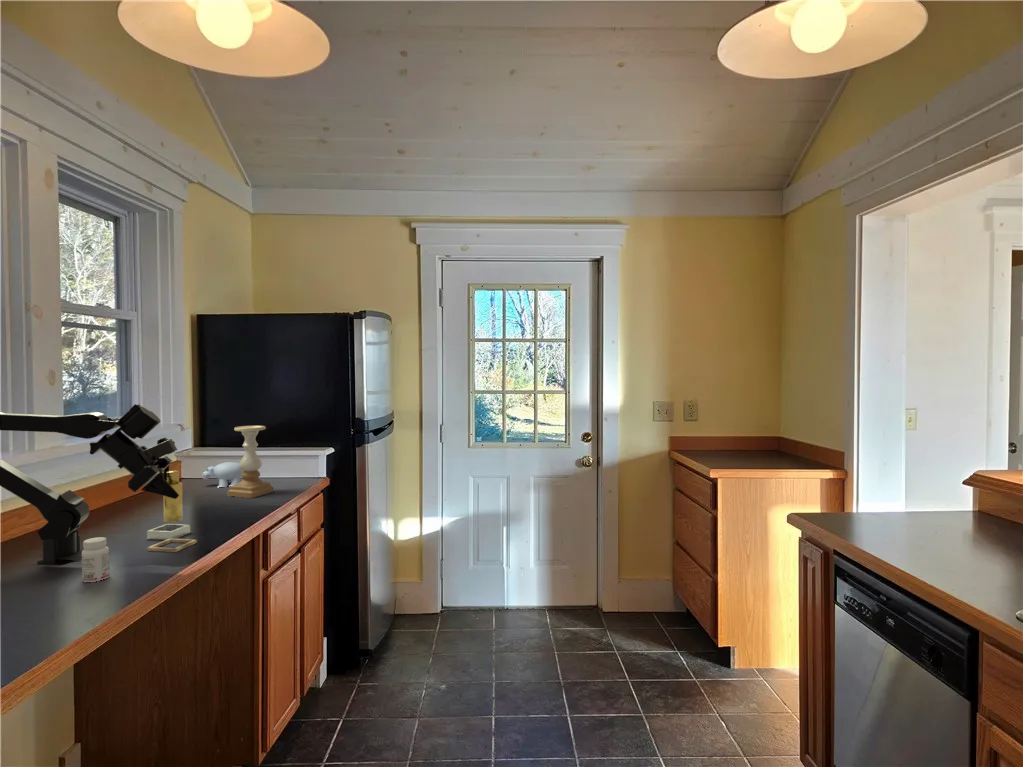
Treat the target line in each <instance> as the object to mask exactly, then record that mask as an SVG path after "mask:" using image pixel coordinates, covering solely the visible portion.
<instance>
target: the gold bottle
mask: <svg viewBox="0 0 1023 767" xmlns="http://www.w3.org/2000/svg"><path fill="white" fill-rule="evenodd" d="M179 474H180V471H179V470H170V471H168V472H167V482H168V483H169V484H170V485H171V486H172V487H173V489H174V490H175V491H176V492H177V493H178V494H179V496H178V497H177V498H176V499H174V498H171V497H167V496H163V495H162V496H163V497H162V498H163V522H164V523H176V522H177V523H178V522H180V521H183V482H180V475H179Z"/></svg>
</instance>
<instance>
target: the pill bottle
mask: <svg viewBox="0 0 1023 767" xmlns="http://www.w3.org/2000/svg"><path fill="white" fill-rule="evenodd" d="M107 544H108V542H107V537H103V536H102V537H101V536H100V537H97V536H96V537H92V538H87V539H85V540H83V542H82V545H83V550H82V551H81V578H82V582H84V583H86V582H91V583H95V582H96V581H97V582H101V581H100V580H102V581H104V580H103V579H105V580H106V578H107V579H109V577H110V576H111V574H110V570H111V568H110V567H111V566H110V549H109V547H108V546H107ZM97 582H96V583H97Z"/></svg>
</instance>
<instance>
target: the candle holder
mask: <svg viewBox="0 0 1023 767" xmlns="http://www.w3.org/2000/svg"><path fill="white" fill-rule="evenodd" d="M266 429H267V427H266V426H265V425H241V426H235V427H234V429H233V430H234V431H235V432H241V435H242V436H243V437H244V438H243V439H244V441H243V444H242V445H241V446H242V447H243V449H244V455H243V457H241V459H240V461H239V462H238V463H239V467H240V469H241V470H243V473H242V474H241V477H240V478H242V480H241V482H239V483H238V484H237V485H233V486H231V487H230V488H229V490H226V491H227V492H226V493H227V494H226V495H227V497H231V496H235V497H234V498H242V497H244V498H245V499H254V498H258V496H259V497H261V495H262V496H265V495H269V494H272V493H274V492H273V491H274V488H275V487H274V486H272V485H271V483H270V482H264V481H263V480H262V479H260V478H259V477H260V476H261V473H260V471H259V469H260V468H261V467H262V460H261V459H260V456H258V454H257V452H256V451H257V450H256V449H257V448H258V446H259V443H258V442H257V440H256V438H257V436H258V434H259V432H260V431H264V430H266ZM271 492H272V493H271ZM268 493H269V494H268ZM244 498H243V499H244Z"/></svg>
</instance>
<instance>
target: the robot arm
mask: <svg viewBox="0 0 1023 767" xmlns="http://www.w3.org/2000/svg"><path fill="white" fill-rule="evenodd" d="M160 423H161V419H160V417H158V416H157V415H156V413H154V412H153V411H151V410H149V409H147V408H146V407H143V406H142V405H140V404H139V403H135V404H134V405H133V406H131V408H130V409H129V410H127V412H126V413H125V414H124V415H123V416H121V417H120V418H119V417H108V416H107V415H106V414H105V413H102V412H98V411H96V412H94V411H93V412H85V413H77V414H76V413H73V414H67V415H65V414H64V415H55V414H53V415H51V414H33V413H32V414H31V413H30V414H28V413H11V412H8V413H7V412H2V411H0V431H5V432H6V431H10V432H12V431H14V432H15V431H16V432H35V433H36V432H37V433H38V432H40V433H41V432H42V433H56V434H57V433H58V434H62V435H65V436H69V437H74V438H80V439H85V440H86V439H87V440H89V439H94V438H96V437H100V436H102V435H103V436H102V437H101V438H99V440H97V441H91V442H90V443H89V447H90V449H89V454H90V455H94V454H97V453H99V451H102V452H103V453H105V454H106V455H107V456H108V457H110V458H111V460H113V461H115V462H116V463H117V464H118V465H117V467H118V468H119V469H120V470H122V469H125V470H126V471H127V472H128V473H129V474H131V475H132V477H131V479H129V480H128V481H127V488H129V489H130V490H131V491H133V493H136V492H137V491H139V490H140V491H141V492H148V493H153V494H155V495H161V496H167V497H171V498H174V499H176V498H177V497H178V496H179V494H178V493H177V492H176V491H175V490H174V489H173V487H172V486H171V485H170V484H169V483H168V482H167V472H168V471H171V467H172V465H171V463H172V462H173V460H172V459H171V458H170V457H168V456H167V455H171V454H173V453H175V452H176V451H178V448H177V446H176V444H175V441H173V439H172V438H169V439H168V438H167V437H161V438H159V439H158V440H157V442H156V443H157V444H155V445H154V446H151V447H149V448H148V447H147V446H145V445H138V444H137V443H136V442H135V441H133V440H135V439H137V438H138V439H140V440H142V439H144V437H146V436H147V435H148V434H149V433H150V432H151V431H152V430H153V429H155V428H156V426H158V425H159V424H160ZM117 428H118V429H117ZM113 429H116V430H115V431H114V432H113V433H112V434H111V433H107V432H108V431H112V430H113ZM142 486H144V487H142ZM0 487H2V488H3V489H4V490H7V491H8V492H10V493H11V494H13V495H15V496H16V497H19V499H21V500H23V501H24V502H26V503H28V504H30V505H32V506H33V507H35V508H36V509H37V510H38V511H39V514H40V515H41V516H42V517H43V519H44V520H45V521H46V522H47V523H45V524H44V525H43V526H42V527H41V528H40V529H39V530H37V534H38V536H39V538H40V540H41V541H42V559H40V560H38V561H36V563H37V565H55V566H56V565H57V566H61V565H65V564H67V563H71V562H73V561H74V559H66V557H70V556H72V555H75V554H77V552H79V551H81V538H80V537H81V536H80V534H79V528H80V527H81V524H82V523H83V522H84V521H85V520H87V518H88V517H89V515H90V512H91V510H90V506H89V505H88V503H87V502H86V501H85V500H86V498H85V497H81V496H79V495H77V494H76V493H75V492H74V491H72V490H70V489H68V490H65V491H64V492H62V493H60V492H56V491H54V490H52V489H50V488H49V487H47V486H45V485H44V484H42V483H41V482H39V481H37V480H36V479H34V478H33V477H31V476H29V475H27V474H26V473H24V472H22V471H21V470H19V469H18V468H16V467H15V466H12V464H9V463H8V462H7V461H5V460H4V459H3V460H2V459H1V458H0ZM141 487H142V489H141ZM62 558H63V559H62Z"/></svg>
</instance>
